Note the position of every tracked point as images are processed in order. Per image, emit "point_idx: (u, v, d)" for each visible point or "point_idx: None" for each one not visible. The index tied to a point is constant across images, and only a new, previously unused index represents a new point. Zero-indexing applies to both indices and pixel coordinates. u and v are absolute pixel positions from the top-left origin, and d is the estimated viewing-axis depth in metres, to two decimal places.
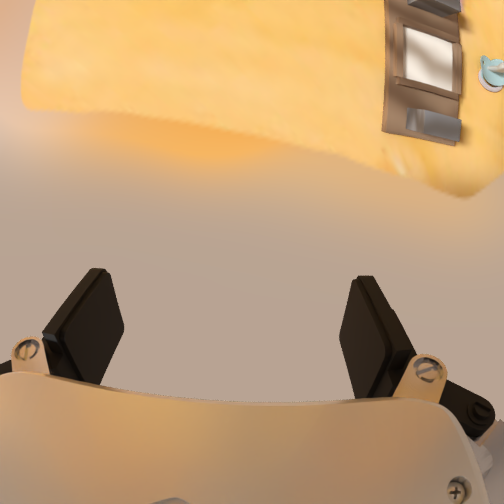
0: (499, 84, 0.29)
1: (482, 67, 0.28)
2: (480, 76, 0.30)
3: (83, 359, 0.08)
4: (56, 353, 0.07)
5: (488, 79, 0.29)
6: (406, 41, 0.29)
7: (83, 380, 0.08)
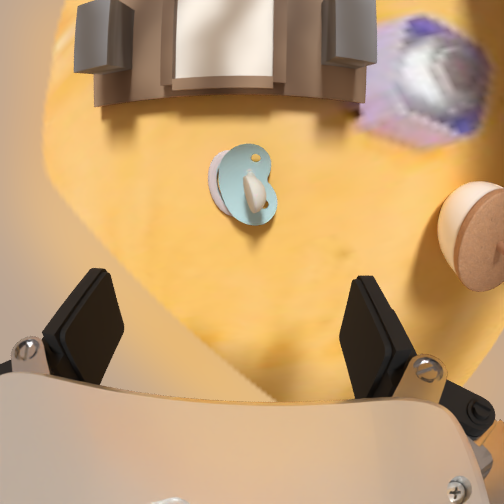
0: (225, 199, 0.27)
1: (242, 150, 0.25)
2: (226, 153, 0.26)
3: (83, 359, 0.08)
4: (56, 353, 0.07)
5: (225, 169, 0.26)
6: None
7: (83, 380, 0.08)
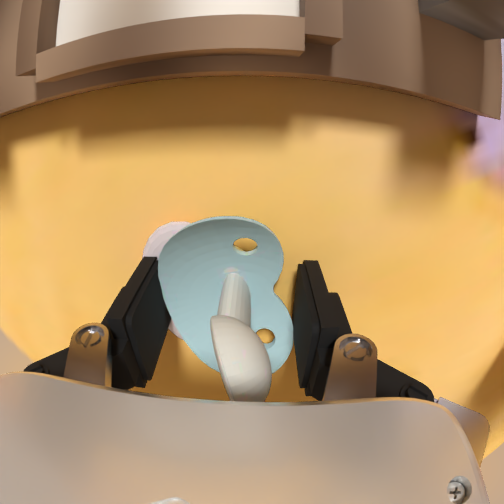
0: (182, 328, 0.12)
1: (208, 230, 0.10)
2: (174, 230, 0.11)
3: (143, 344, 0.09)
4: (119, 339, 0.08)
5: (173, 271, 0.11)
6: None
7: (142, 366, 0.09)
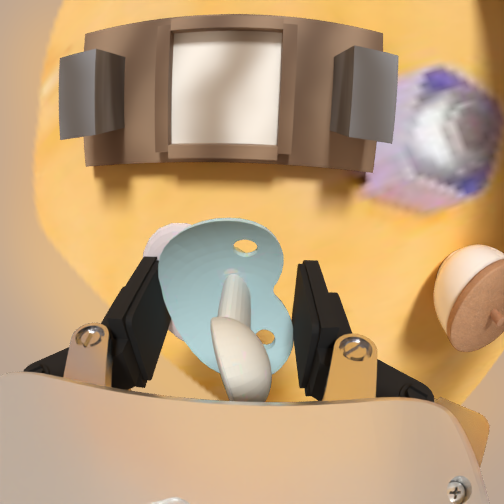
0: (182, 329, 0.12)
1: (208, 232, 0.10)
2: (174, 232, 0.11)
3: (143, 344, 0.09)
4: (119, 339, 0.08)
5: (173, 273, 0.11)
6: (250, 42, 0.18)
7: (142, 366, 0.09)
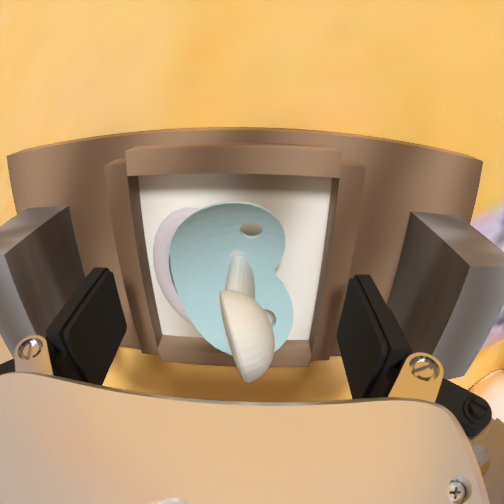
0: (189, 308, 0.13)
1: (218, 214, 0.11)
2: (185, 215, 0.12)
3: (86, 358, 0.08)
4: (59, 352, 0.07)
5: (183, 253, 0.12)
6: (275, 193, 0.12)
7: (86, 379, 0.08)
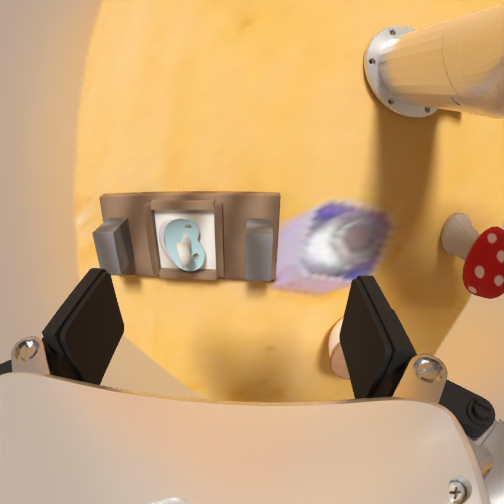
0: (170, 253, 0.39)
1: (177, 221, 0.36)
2: (169, 221, 0.38)
3: (83, 359, 0.08)
4: (56, 353, 0.07)
5: (168, 233, 0.38)
6: (197, 214, 0.38)
7: (83, 380, 0.08)
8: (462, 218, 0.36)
